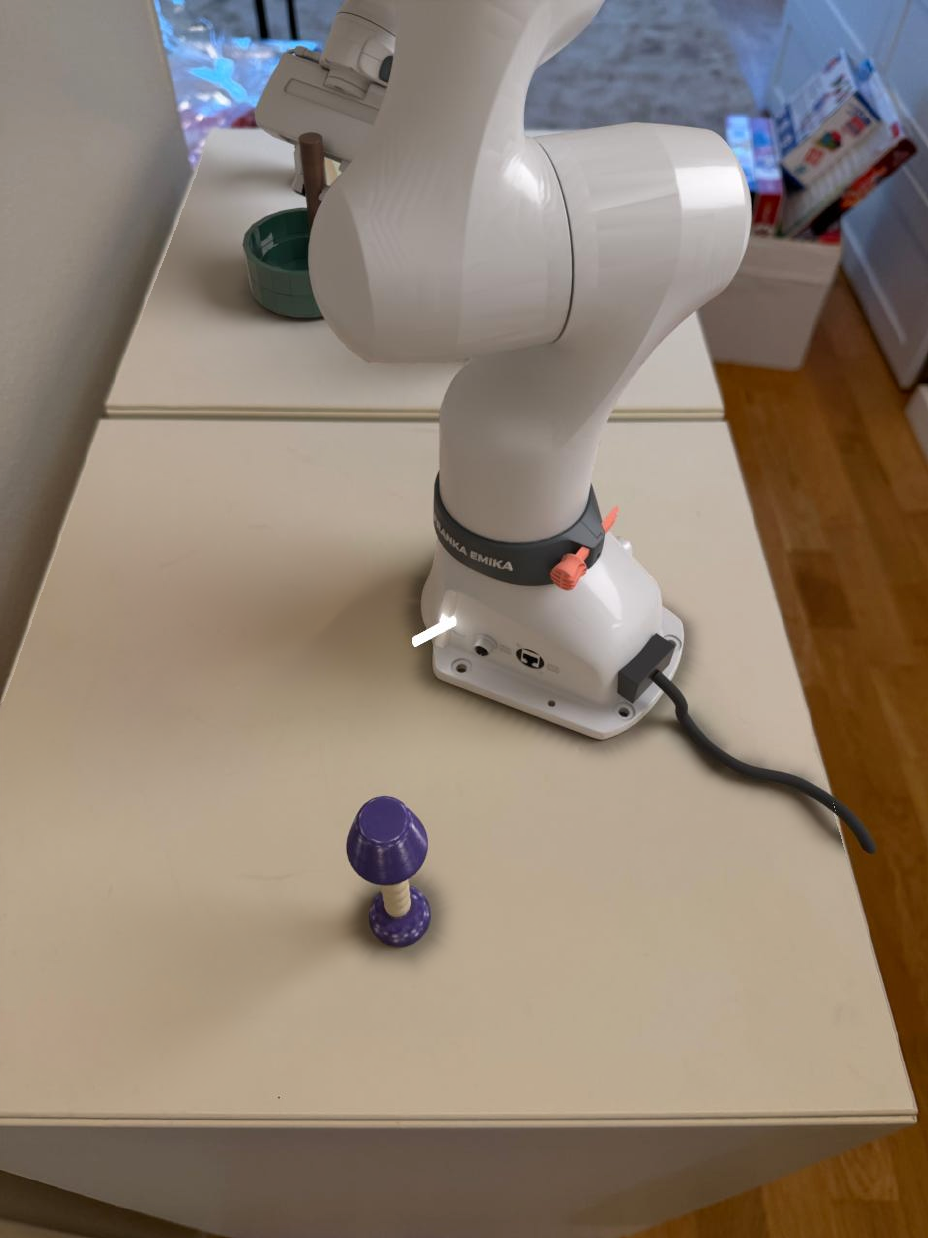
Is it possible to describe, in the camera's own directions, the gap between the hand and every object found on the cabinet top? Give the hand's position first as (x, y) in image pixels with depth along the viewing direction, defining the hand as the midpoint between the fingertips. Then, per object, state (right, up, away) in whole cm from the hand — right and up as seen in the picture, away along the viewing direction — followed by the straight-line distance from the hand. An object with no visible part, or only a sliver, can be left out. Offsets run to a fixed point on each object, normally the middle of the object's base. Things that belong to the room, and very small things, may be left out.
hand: (313, 199), depth 98 cm
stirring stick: (0, -4, +7) cm, 8 cm away
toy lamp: (+11, -65, -35) cm, 75 cm away
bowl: (-2, -6, +9) cm, 11 cm away
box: (-3, +13, +24) cm, 27 cm away
